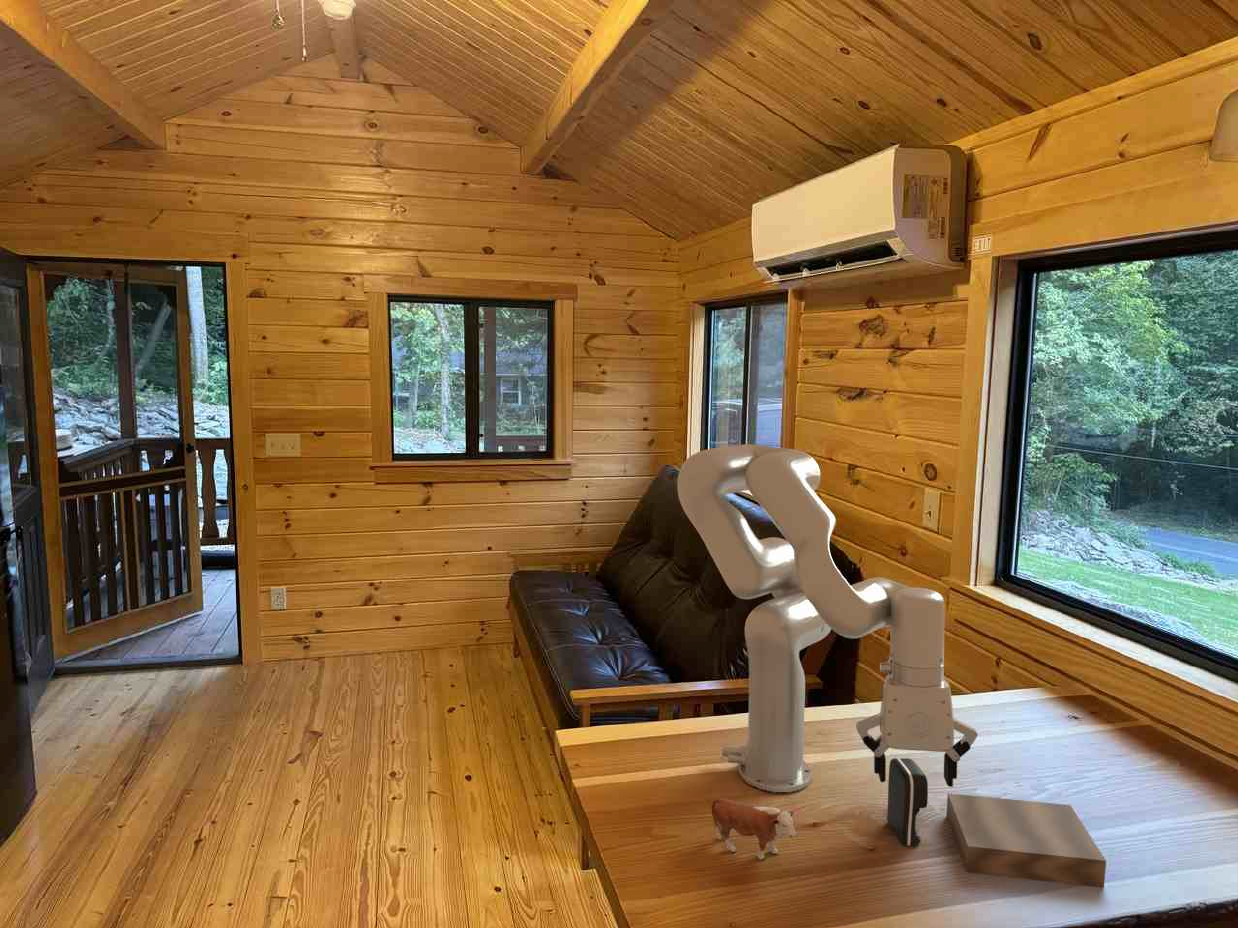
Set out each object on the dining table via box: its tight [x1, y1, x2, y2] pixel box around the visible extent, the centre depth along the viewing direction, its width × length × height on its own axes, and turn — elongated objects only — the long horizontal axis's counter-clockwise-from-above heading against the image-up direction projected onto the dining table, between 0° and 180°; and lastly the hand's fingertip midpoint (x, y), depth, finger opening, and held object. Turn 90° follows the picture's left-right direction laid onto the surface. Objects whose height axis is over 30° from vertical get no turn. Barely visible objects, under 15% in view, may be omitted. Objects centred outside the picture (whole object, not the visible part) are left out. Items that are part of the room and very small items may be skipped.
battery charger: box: [886, 757, 929, 847], centre depth 124 cm, size 7×4×11 cm, turn 3°
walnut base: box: [945, 793, 1107, 888], centre depth 121 cm, size 18×14×4 cm
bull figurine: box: [710, 797, 797, 860], centre depth 120 cm, size 4×13×8 cm, turn 58°
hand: (914, 779), depth 123 cm, fingers open, 9 cm apart
